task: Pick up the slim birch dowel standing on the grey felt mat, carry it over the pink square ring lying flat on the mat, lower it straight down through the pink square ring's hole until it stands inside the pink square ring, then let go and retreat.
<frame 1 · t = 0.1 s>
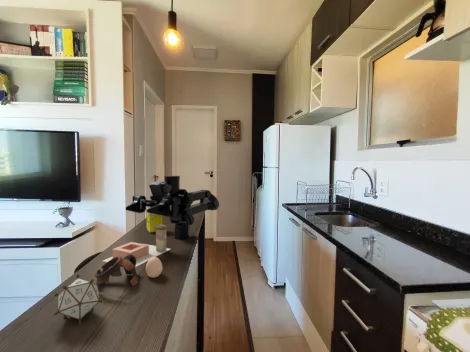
hand: (136, 209, 80), 17 cm above the counter, tool horizontal, fingers open, 9 cm apart
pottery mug: (121, 283, 65), on the counter
supplement box: (154, 232, 113), on the counter
dowel: (161, 250, 87), resting on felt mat
game die: (79, 317, 51), on the counter
pink square ring: (131, 255, 82), resting on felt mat
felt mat: (139, 255, 84), on the counter
egg: (154, 277, 68), on the counter
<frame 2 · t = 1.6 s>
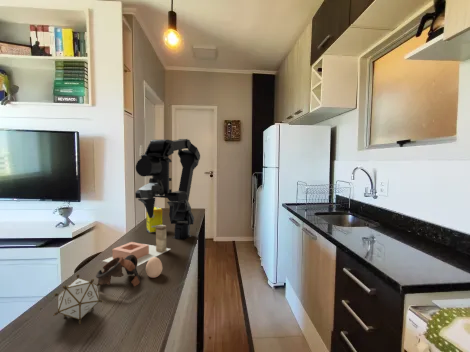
hand: (160, 219, 87), 12 cm above the counter, tool pointing down, fingers open, 9 cm apart
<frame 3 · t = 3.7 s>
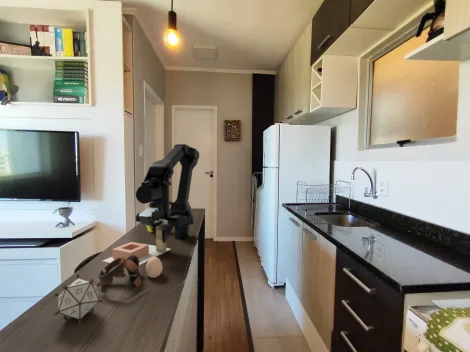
hand: (161, 242, 87), 4 cm above the counter, tool pointing down, fingers closed on dowel, 2 cm apart
dowel: (161, 250, 87), resting on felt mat, touching gripper
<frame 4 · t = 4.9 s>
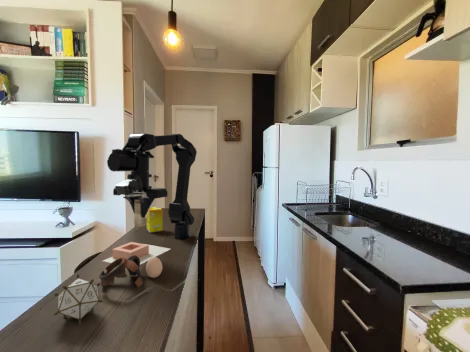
hand: (140, 217, 83), 13 cm above the counter, tool pointing down, fingers closed on dowel, 2 cm apart
dowel: (140, 225, 83), point 10 cm above the counter, touching gripper
when the fingers open (4 cm above the counter, at t = 6.6 s): dowel stays where it is, resting on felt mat.
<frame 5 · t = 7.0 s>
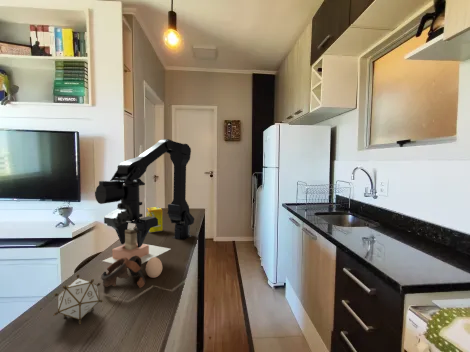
hand: (131, 245, 82), 4 cm above the counter, tool pointing down, fingers open, 7 cm apart
dowel: (131, 255, 82), resting on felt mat
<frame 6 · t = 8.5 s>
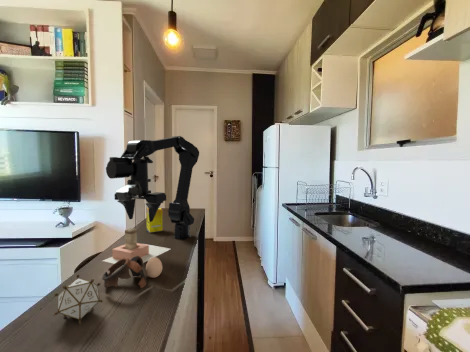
hand: (140, 220, 86), 12 cm above the counter, tool pointing down, fingers open, 9 cm apart
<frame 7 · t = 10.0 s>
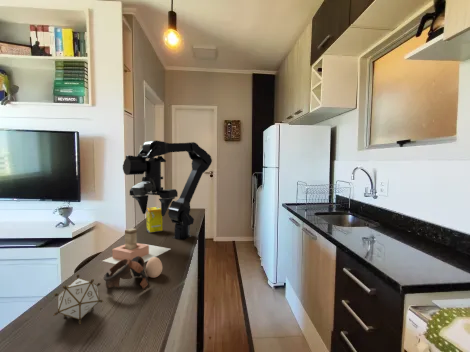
hand: (153, 214, 93), 12 cm above the counter, tool pointing down, fingers open, 9 cm apart
at the end: dowel 0.0 cm off-centre on the pink square ring, point 0.0 cm above the pink square ring's base; dowel tilted 0°; the gripper is holding nothing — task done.
